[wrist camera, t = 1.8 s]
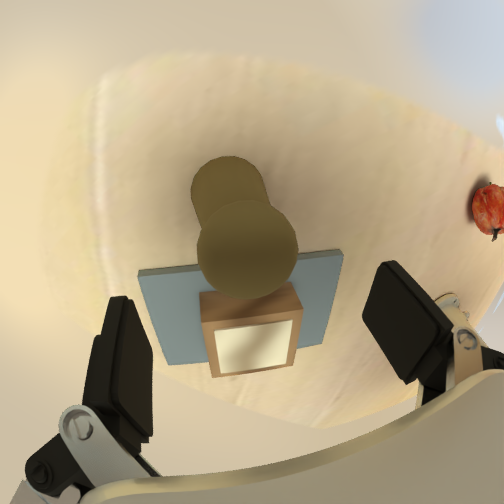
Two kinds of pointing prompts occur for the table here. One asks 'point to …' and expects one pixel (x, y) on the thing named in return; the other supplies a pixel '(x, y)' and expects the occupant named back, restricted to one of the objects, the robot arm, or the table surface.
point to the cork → (240, 231)
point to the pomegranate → (489, 210)
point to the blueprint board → (193, 281)
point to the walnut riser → (250, 331)
